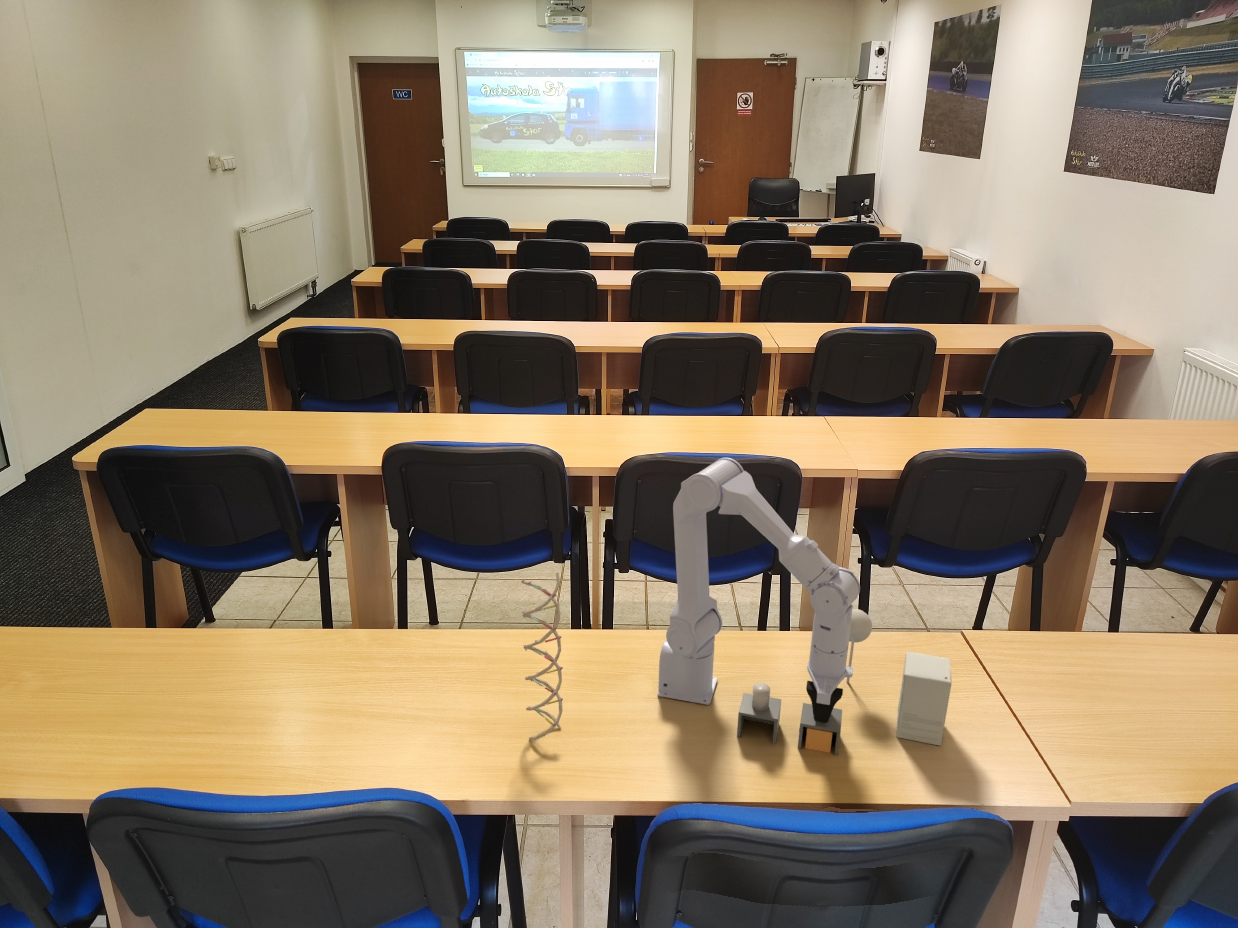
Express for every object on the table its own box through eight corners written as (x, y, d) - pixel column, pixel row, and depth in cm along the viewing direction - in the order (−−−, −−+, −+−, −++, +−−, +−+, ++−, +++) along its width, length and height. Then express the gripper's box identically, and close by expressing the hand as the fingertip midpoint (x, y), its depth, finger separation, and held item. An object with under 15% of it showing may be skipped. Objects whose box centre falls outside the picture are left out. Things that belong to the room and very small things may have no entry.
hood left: (736, 736, 147) (739, 694, 144) (741, 716, 152) (744, 675, 149) (775, 744, 145) (779, 701, 142) (779, 723, 150) (783, 681, 147)
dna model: (534, 751, 143) (528, 590, 132) (519, 728, 149) (513, 571, 137) (571, 739, 146) (569, 580, 135) (556, 717, 151) (552, 562, 140)
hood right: (797, 748, 145) (801, 705, 141) (800, 727, 149) (804, 685, 146) (837, 755, 143) (842, 712, 140) (839, 734, 148) (844, 691, 145)
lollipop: (865, 694, 158) (875, 622, 152) (831, 690, 159) (840, 618, 153) (863, 674, 164) (872, 604, 158) (831, 670, 165) (839, 600, 159)
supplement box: (941, 720, 152) (952, 657, 147) (941, 747, 145) (952, 683, 140) (896, 710, 154) (906, 649, 149) (894, 737, 147) (904, 673, 142)
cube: (805, 747, 145) (807, 728, 143) (807, 732, 148) (809, 713, 147) (830, 752, 144) (832, 732, 142) (831, 737, 147) (834, 717, 146)
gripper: (854, 673, 132) (844, 747, 137) (857, 623, 145) (848, 692, 150) (806, 665, 133) (798, 738, 138) (813, 616, 146) (806, 685, 151)
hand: (821, 714), depth 144 cm, fingers closed on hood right, 3 cm apart
